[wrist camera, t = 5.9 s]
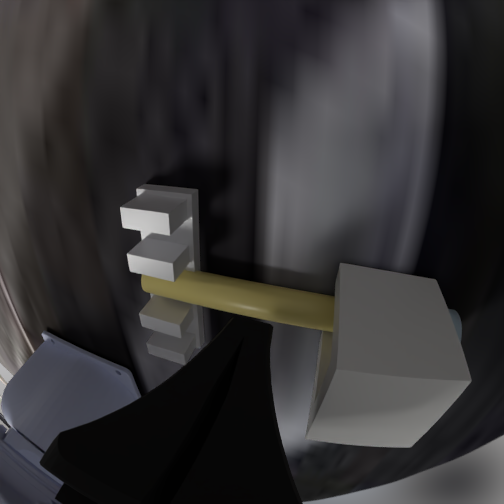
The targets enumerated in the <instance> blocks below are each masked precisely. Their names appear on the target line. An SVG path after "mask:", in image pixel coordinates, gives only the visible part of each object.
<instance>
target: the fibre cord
mask: <svg viewBox="0 0 504 504" xmlns="http://www.w3.org/2000/svg"><path fill="white" fill-rule="evenodd" d="M141 284H142V288H143V290H144V291H145V292H148V293H152V294H156V295H159V296H163V297H167V298H171V299H175V300H179V301H183V302H187V303H191V304H196V305H200V306H204V307H208V308H213V309H217V310H221V311H226V312H230V313H235V314H240V315H244V316H249V317H254V318H259V319H264V320H269V321H274V322H279V323H284V324H289V325H295V326H300V327H306V328H311V329H317V330H323V331H329V332H333V322H334V303H335V296H330V295H324V294H319V293H313V292H307V291H302V290H296V289H291V288H285V287H280V286H274V285H269V284H264V283H258V282H253V281H248V280H243V279H238V278H232V277H227V276H222V275H217V274H212V273H207V272H202V271H195V272H192V271H187V270H183V272H182V273H181V274H180V275H179V277H178V278H177V279H176V281H175V282H172V281H168V280H164V279H160V278H155V277H151V276H147V275H143V274H142V278H141ZM448 310H449V313H450V315H451V318H452V321H453V324H454V326H455V329H456V332H457V335H458V338H459V341H460V342H461V335H462V325H461V319H460V316H459V314H458V313H457V311H455V310H452V309H448Z"/></svg>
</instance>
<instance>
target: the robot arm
mask: <svg viewBox="0 0 504 504" xmlns="http://www.w3.org/2000/svg"><path fill="white" fill-rule="evenodd" d="M272 332H273V326H272V325H271V324H268V323H263V322H258V321H254V320H249V319H244V318H240V317H233V318H231V319H230V321H229V322H228V323H227V324H226V325H225V327H224V328H223V329H222V330H221V331H220V332H219V333H218V334H217V335H216V336H215V338H214V339H213V340H212V341H211V342H210V343H209V344H208V345H207V346H206V347H205V348H203V349H202V350H201V351H200V352H199V353H198V354H197V355H196V356H195V357H194V358H193V359H192V360H191V361H189V362H188V363H187V364H186V365H185V366H183V367H182V368H181V369H180V370H179V371H178V372H176V373H175V374H174V375H173V376H171V377H170V378H169V379H167V380H166V381H165V382H163V383H162V384H160V385H159V386H157V387H156V388H154V389H153V390H152V391H150V392H148V393H147V394H145V395H143V396H142V397H141V395H140V393H139V390H138V388H137V385H136V383H135V380H134V378H133V375H132V373H131V371H130V370H129V369H127V368H125V367H123V366H120V365H118V364H115V363H113V362H111V361H108V360H106V359H104V358H101V357H99V356H97V355H95V354H92V353H90V352H88V351H86V350H84V349H81V348H79V347H77V346H75V345H73V344H71V343H69V342H67V341H65V340H63V339H61V338H59V337H57V336H55V335H53V334H51V333H49V332H47V331H44V332H43V333H42V336H43V338H44V340H45V341H44V342H43V343H42V344H41V346H40V347H39V348H38V349H37V350H36V351H35V352H34V353H33V354H32V356H31V357H30V358H29V359H28V360H27V361H26V362H25V364H24V365H23V366H22V367H21V368H20V369H19V371H18V372H17V373H16V374H15V375H14V376H13V378H12V379H11V380H10V381H9V383H8V384H7V386H6V388H5V390H4V393H3V396H2V402H1V407H2V412H3V415H4V417H5V419H6V421H7V423H8V424H9V425H10V426H11V427H12V428H10V429H9V430H8V432H7V433H5V432H6V430H7V429H6V428H5V427H4V426H3V425H0V504H303V503H302V501H301V498H300V496H299V493H298V491H297V488H296V485H295V483H294V480H293V477H292V474H291V471H290V468H289V465H288V461H287V458H286V455H285V451H284V448H283V444H282V440H281V436H280V432H279V428H278V423H277V418H276V413H275V407H274V401H273V393H272V385H271V372H270V346H271V339H272Z"/></svg>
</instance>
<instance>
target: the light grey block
mask: <svg viewBox="0 0 504 504" xmlns="http://www.w3.org/2000/svg"><path fill="white" fill-rule="evenodd" d="M471 381H472V380H471V377H470V373H469V370H468V366H467V363H466V360H465V356H464V353H463V350H462V347H461V344H460V341H459V338H458V335H457V332H456V329H455V326H454V324H453V321H452V318H451V315H450V313H449V310H448V308H447V305H446V302H445V300H444V297H443V295H442V293H441V290H440V288H439V285H438V283H437V281H436V279H430V278H425V277H419V276H414V275H408V274H402V273H397V272H391V271H385V270H380V269H374V268H368V267H363V266H357V265H351V264H346V263H340V265H339V269H338V274H337V278H336V282H335V303H334V322H333V332H329V331H323V330H322V334H321V337H320V341H319V350H318V358H317V365H316V373H315V380H314V387H313V394H312V400H311V406H310V413H309V419H308V424H307V430H306V436H305V439H308V440H315V441H322V442H330V443H339V444H349V445H361V446H376V447H411V446H412V445H413V444H414V443H416V442H417V441H418V440H419V439H420V438H421V437H422V436H423V435H424V434H425V433H426V432H427V431H428V430H429V429H430V428H431V427H432V426H433V425H434V424H435V423H436V422H437V420H438V419H439V418H440V417H441V416H442V415H443V414H444V413H445V412H446V411H447V410H448V408H449V407H450V406H451V405H452V404H453V403H454V402H455V400H456V399H457V398H458V397H459V396H460V395H461V393H462V392H463V391H464V390H465V388H466V387H467V386H468V385H469V384H470V382H471Z"/></svg>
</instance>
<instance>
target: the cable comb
mask: <svg viewBox="0 0 504 504" xmlns="http://www.w3.org/2000/svg"><path fill="white" fill-rule="evenodd" d="M120 211H121V218H122V225H123V228H128V229H134V230H140V231H141V237H142V241H141V242H140V243H138V244H137V245H136V246H135V247H134V248H133V249H132V250H131V251H129V252H128V253H127V257H128V263H129V268H130V271H131V272H135V273H139V274H143V275H147V276H151V277H155V278H160V279H164V280H168V281H172V282H175V281H176V279H177V278H178V277H179V275H180V274H181V273H182V272H183V270H187V271H192V272H195V271H201V270H200V244H199V204H198V189H191V188H181V187H171V186H161V185H150V184H144V185H142V186H140V187H139V188H137V197H135V198H134V199H132V200H131V201H129V202H127V203H126V204H124V205H123V206H121V207H120ZM150 296H151V299H150V300H149V301H148V303H147V304H146V305H145V306H144V308H143V309H142V310H141V311H140V313H139V316H140V320H141V325H142V327H145V328H148V329H151V330H155V331H154V332H153V334H152V335H151V337H150V338H149V340H148V341H147V342H146V344H147V348H148V352H149V354H151V355H154V356H157V357H160V358H163V359H166V360H169V361H172V362H176V363H179V364H182V365H186V364H187V362H188V361H189V359H190V357H191V355H192V353H193V351H194V349H195V348H198V349H201V347H202V345H203V343H204V341H205V339H204V324H203V309H202V306H200V305H196V304H191V303H187V302H183V301H179V300H175V299H171V298H167V297H163V296H159V295H156V294H152V293H150Z"/></svg>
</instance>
